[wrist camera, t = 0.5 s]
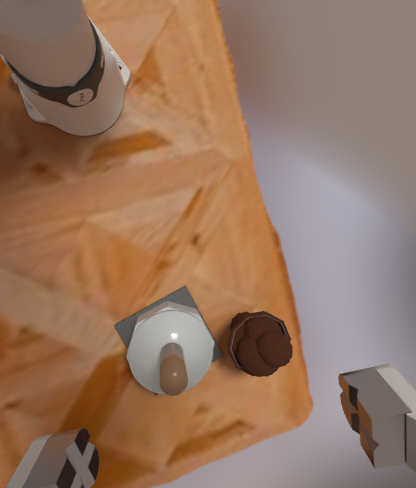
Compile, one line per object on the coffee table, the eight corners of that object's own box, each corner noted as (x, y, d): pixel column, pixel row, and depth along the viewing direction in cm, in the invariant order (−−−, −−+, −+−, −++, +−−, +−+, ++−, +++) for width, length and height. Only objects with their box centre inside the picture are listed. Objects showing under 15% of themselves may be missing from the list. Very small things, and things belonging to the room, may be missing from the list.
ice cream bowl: (233, 289, 56) (259, 311, 41) (279, 314, 58) (319, 344, 43) (207, 336, 56) (223, 375, 41) (253, 360, 58) (285, 405, 43)
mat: (114, 324, 53) (114, 325, 52) (185, 285, 54) (185, 286, 54) (155, 394, 55) (155, 395, 54) (222, 354, 56) (223, 355, 56)
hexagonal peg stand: (117, 328, 52) (100, 366, 38) (186, 289, 54) (195, 312, 40) (154, 392, 54) (152, 451, 40) (220, 352, 56) (241, 396, 42)
